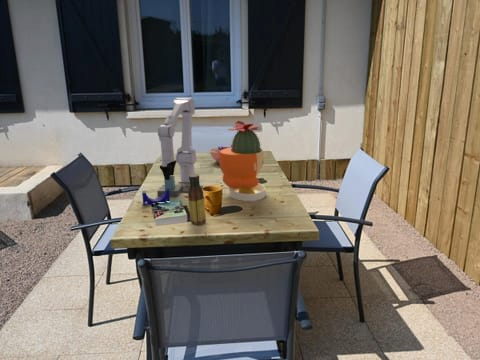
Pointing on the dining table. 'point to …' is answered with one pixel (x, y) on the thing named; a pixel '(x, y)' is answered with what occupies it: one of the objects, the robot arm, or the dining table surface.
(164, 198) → the cable clip
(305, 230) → the dining table surface
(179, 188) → the socket block
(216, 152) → the cell model
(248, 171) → the potted cactus
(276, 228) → the dining table surface
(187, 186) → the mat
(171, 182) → the plug
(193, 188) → the sauce bottle
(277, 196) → the dining table surface
